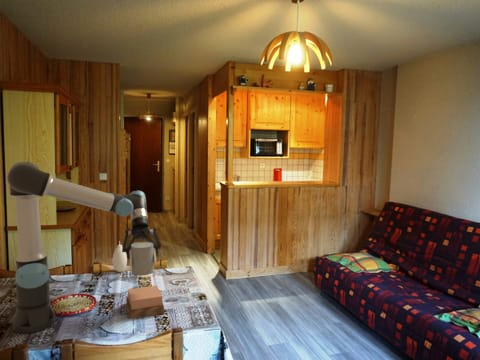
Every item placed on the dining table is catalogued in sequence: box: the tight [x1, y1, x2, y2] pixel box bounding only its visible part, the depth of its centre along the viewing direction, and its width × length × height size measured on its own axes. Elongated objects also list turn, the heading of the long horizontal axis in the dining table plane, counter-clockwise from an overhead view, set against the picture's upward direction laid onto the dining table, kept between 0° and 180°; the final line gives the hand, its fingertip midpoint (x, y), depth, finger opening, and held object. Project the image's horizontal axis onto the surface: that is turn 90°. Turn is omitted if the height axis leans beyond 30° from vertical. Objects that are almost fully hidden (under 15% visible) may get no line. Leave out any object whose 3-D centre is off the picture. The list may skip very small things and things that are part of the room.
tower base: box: [125, 295, 165, 319], centre depth 165 cm, size 15×15×4 cm
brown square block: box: [127, 285, 163, 310], centre depth 164 cm, size 13×13×4 cm
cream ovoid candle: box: [112, 240, 128, 273], centre depth 209 cm, size 8×8×18 cm
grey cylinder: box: [131, 241, 155, 277], centre depth 162 cm, size 10×10×12 cm
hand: (143, 264), depth 159 cm, fingers closed on grey cylinder, 9 cm apart
